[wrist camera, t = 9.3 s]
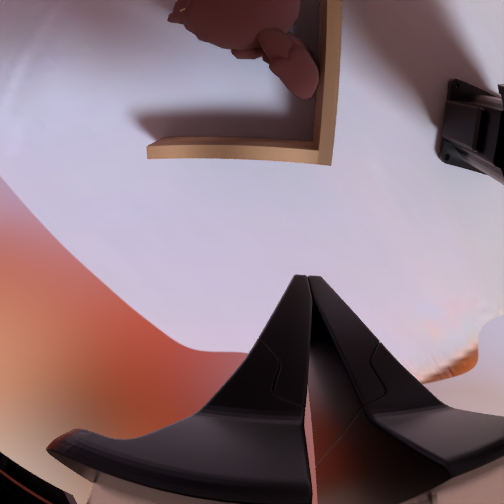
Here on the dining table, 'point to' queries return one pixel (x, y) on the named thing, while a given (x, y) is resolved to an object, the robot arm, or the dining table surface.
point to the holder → (271, 147)
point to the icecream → (254, 35)
